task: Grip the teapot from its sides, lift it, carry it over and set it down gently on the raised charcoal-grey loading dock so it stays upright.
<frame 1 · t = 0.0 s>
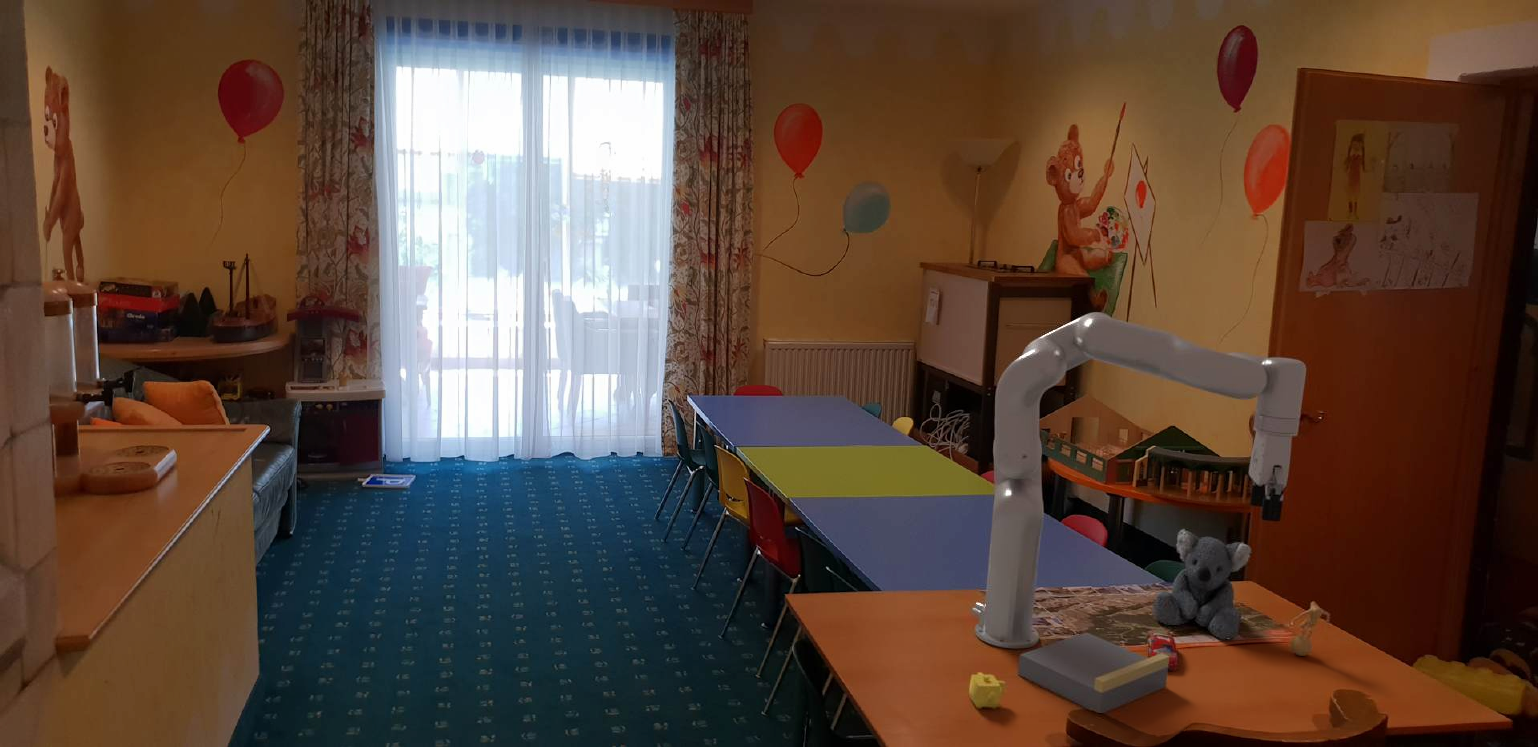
hand: (1264, 512, 205), 31 cm above the table, tool pointing down, fingers open, 9 cm apart
race car: (1161, 660, 213), on the table
figurine: (1303, 657, 217), on the table
koala plush: (1199, 621, 234), on the table
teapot: (987, 705, 190), on the table
loading dock: (1091, 680, 201), on the table
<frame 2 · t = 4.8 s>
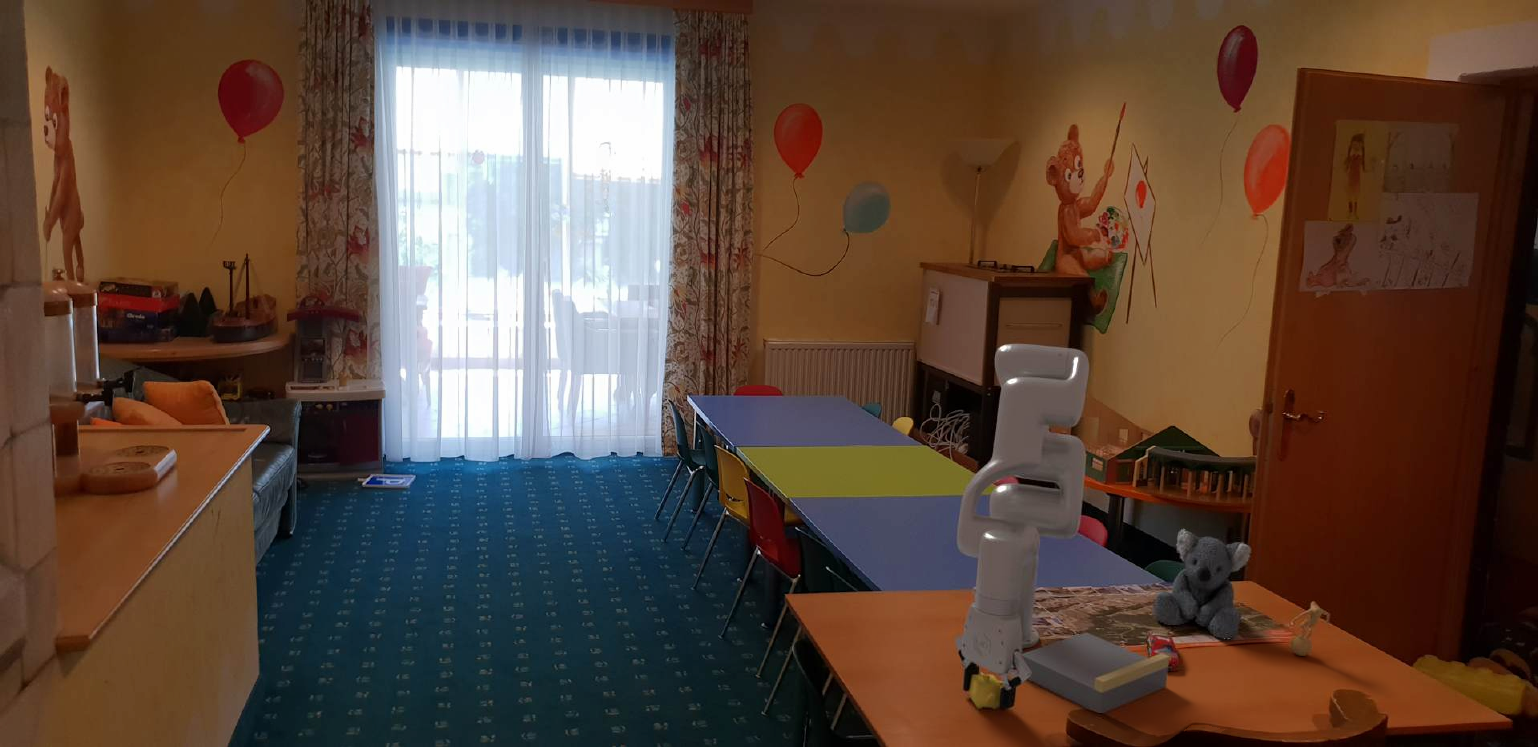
hand: (988, 697, 190), 1 cm above the table, tool pointing down, fingers open, 7 cm apart
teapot: (987, 705, 190), on the table, touching gripper
everything else where it was.
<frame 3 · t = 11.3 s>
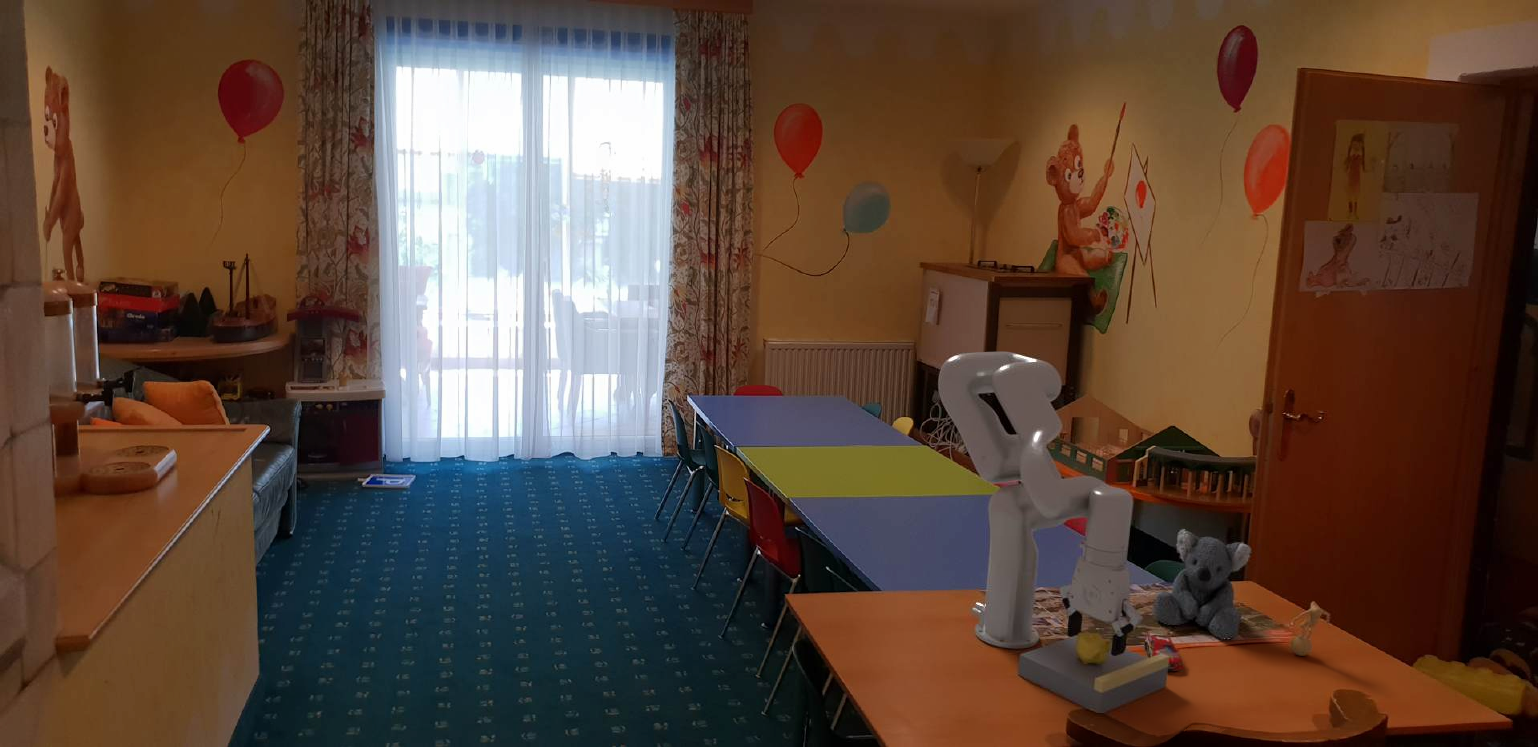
hand: (1095, 644, 200), 7 cm above the table, tool pointing down, fingers open, 9 cm apart
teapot: (1093, 662, 200), point 4 cm above the table, touching loading dock
everything else where it was.
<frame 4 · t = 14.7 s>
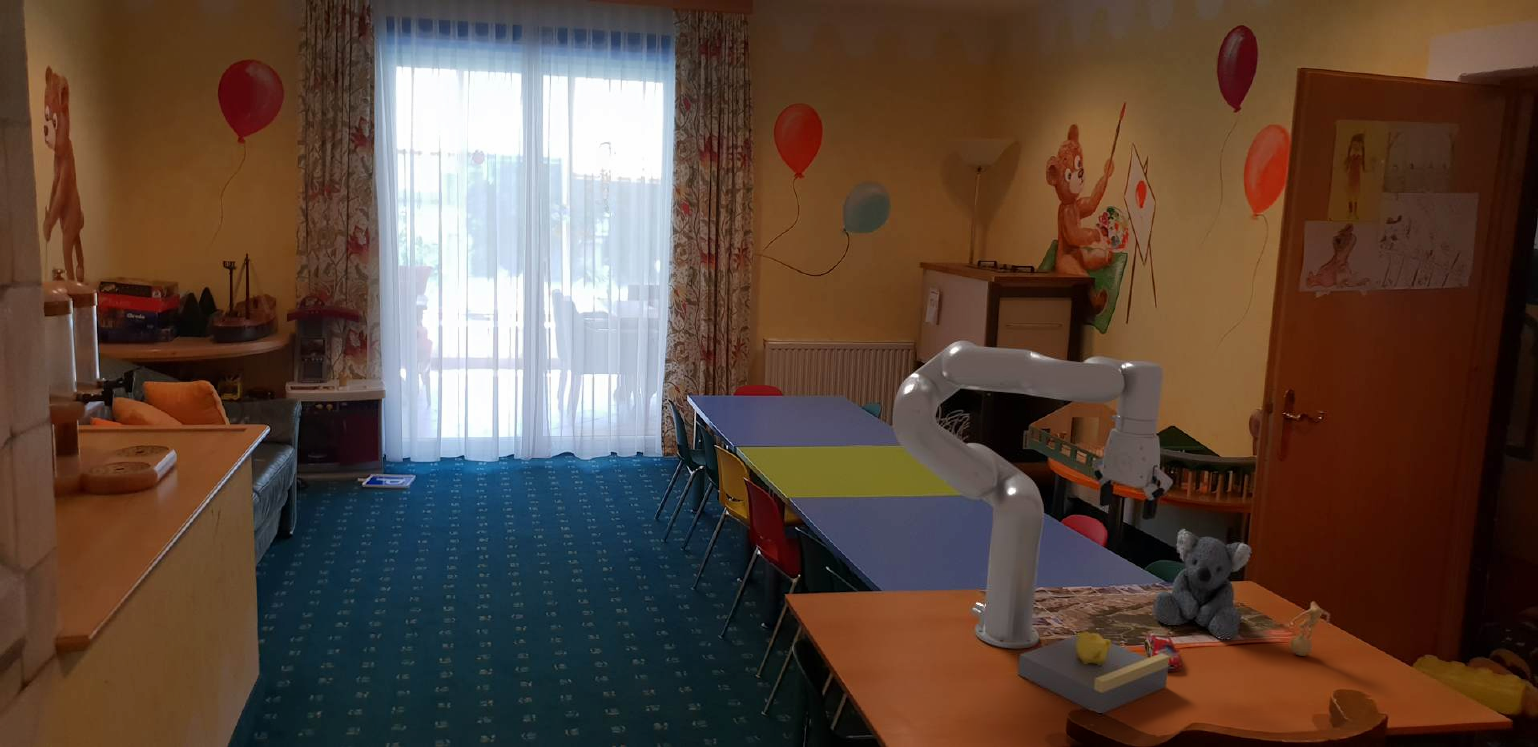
hand: (1126, 511, 212), 28 cm above the table, tool pointing down, fingers open, 9 cm apart
nothing on the table moved.
at the end: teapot inside the target area on the loading dock (0.2 cm from its centre), point 3.8 cm above the loading dock's base; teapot tilted 0°; the gripper is holding nothing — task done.
